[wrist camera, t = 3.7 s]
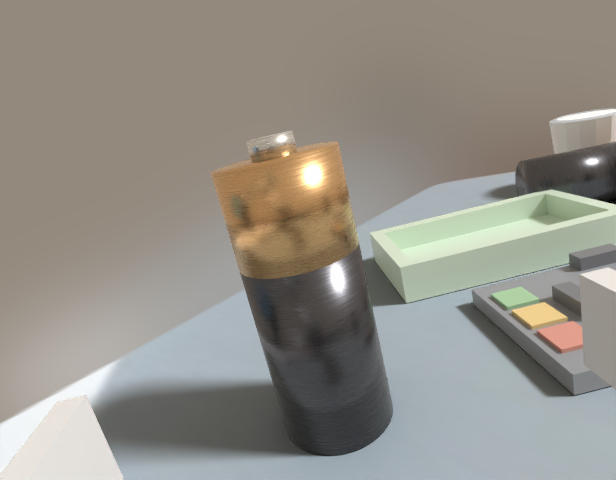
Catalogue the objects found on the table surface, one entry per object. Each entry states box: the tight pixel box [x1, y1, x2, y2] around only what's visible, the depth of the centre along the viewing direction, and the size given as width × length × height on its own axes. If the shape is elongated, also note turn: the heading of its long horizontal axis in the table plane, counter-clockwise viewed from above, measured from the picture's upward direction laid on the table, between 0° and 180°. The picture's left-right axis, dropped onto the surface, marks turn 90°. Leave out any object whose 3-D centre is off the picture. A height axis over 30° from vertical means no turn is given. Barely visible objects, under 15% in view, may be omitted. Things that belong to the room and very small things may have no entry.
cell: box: [211, 131, 393, 455], centre depth 18 cm, size 5×5×13 cm
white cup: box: [550, 108, 616, 154], centre depth 43 cm, size 7×7×7 cm
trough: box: [370, 190, 616, 303], centre depth 32 cm, size 16×9×3 cm, turn 95°
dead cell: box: [516, 142, 616, 201], centre depth 37 cm, size 13×5×5 cm, turn 85°
